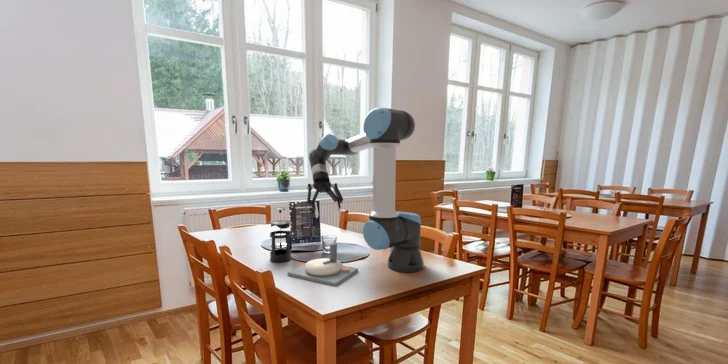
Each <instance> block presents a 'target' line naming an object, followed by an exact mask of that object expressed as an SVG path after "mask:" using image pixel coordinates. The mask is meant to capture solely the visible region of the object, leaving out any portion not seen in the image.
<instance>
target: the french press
mask: <svg viewBox="0 0 728 364" xmlns="http://www.w3.org/2000/svg"><path fill="white" fill-rule="evenodd" d="M275 210H276V211H278V212H279V219H278V220H272V221H270V222H269V224H270V227H271V228H272V227H275V226H276V227H277V228H278V229H279V230H274V231H271V232H269V238H271V245H270V247H271V251H270V252H269V254H270V255H269V256H270V258H269V261H270V262H271V263H277V264H279V263H288V262H289V261H292V250H293V246H292V245H293V242H292V241H293V238H292V237H293V232H292V230H286V229H288V228H290V227H291V222H292V221H291V220H287V219H282V215H281V214H282V211H285V210H286V208H284V207H277V208H275ZM283 229H285V230H283ZM278 234H279V235H278ZM276 239H279V242H276ZM282 239H285V242H282Z"/></svg>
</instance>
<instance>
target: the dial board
mask: <svg viewBox="0 0 728 364" xmlns="http://www.w3.org/2000/svg"><path fill="white" fill-rule="evenodd" d="M306 263H307V262H306ZM306 263H304V264H301V265H299V266H298V267H295V268H293V269H291V270H289V271H287V276H290V277H294V278H298V279H303V280H306V281H312V282H314V283H320V284H325V285H328V286H334V287H337V286H338V285H340V284H341V283H343V282H344V281H346V280H347V279H349V278H350V277H352V276H353V275H355V274H356V273H358V271H359V268H357V267H352V266H346V265H344V264H343V263H341V270H340V271H339V272H338V273H336V274H332V275H326V276H318V275H312V274H309V273H307V272H306Z"/></svg>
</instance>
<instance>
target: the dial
mask: <svg viewBox="0 0 728 364" xmlns="http://www.w3.org/2000/svg"><path fill="white" fill-rule="evenodd" d="M337 254H338V244H337V243H329V258H328V257H327V258H323V257H322V258H315V259H311V260H309V261H307V262H306V272H307V273H309V274H312V275H318V276H326V275H332V274H336V273H338V272H339V271H340V270H341V261H339V260H338V257H337V256H338V255H337Z"/></svg>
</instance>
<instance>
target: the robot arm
mask: <svg viewBox="0 0 728 364" xmlns="http://www.w3.org/2000/svg"><path fill="white" fill-rule="evenodd" d="M415 129H416V121H415V119H414V117H413V116H412V115H411V114H410V113H409V112H408V111H406V110H401V109H400V110H399V109H393V108H388V107H375V108H373V109H371V110H370V111H369V112H368V114H366V116H365V118H364V121H363V133H360V134H357V135H354V136H352V137H350V138H347V139H338V138H337V136H335V135H334V134H332V133H326V134H325V135H324V136H323V137H322V138H321V139H320V141H319V143H318V144H317V146H316V147H314V148H312V149H310V150H309V152H308V160H309V165H310V170H311V176H312V181H313V184H311V183H308V184H307V187H306V188H307V200H306V204H307V205H310V206H311V209H312V211H313V212H314V214H315V219H318V218H319V209H318V202H317V201H316V200H317V198H318V196H319V194H321V193H326V195H328V196H329V197H330V198H331V199H332V200H333V202H334V207H335V212H336V213H335V214H336V218H338V217H340V215H341V211H340V210H341V208H342V207H341V204H342V203H343V201H344V198H343V196H342V194H341V191H340V189H339V187H338V183H331V180H330V176H329V172H328V167H327V161H328V160H329V159H330V157H331V156H354V155H355V156H356V155H358V154H359V153H360V152H363V151H364V150H368V149H372V148H373V165H372V166H373V167H372V169H373V173H372V175H373V177H372V179H373V181H372V183H373V184H372V189H373V191H372V196H373V197H372V210H371V211H370V212H369V214H368V220H367V221H366V222H364V224H363V227H362V234H363V235H362V236H363V239H364V241H365V242H366V244H367V246H368V247H370V248H371V249H372V250H375V251H381V250H387V249H390V250H391V251H390V253H389V256H388V259H387V267H388V268H389V269H390V270H393V271H396V272H402V273H416V272H419V271H422V270H423V269H424V264H425V263H424V259H423V256H422V251H421V228H422V227H421V226H422V223H421V221H422V220H421V216H420V215H419V214H417V213H414V212H406V211H397V210H396V174H397V171H396V170H397V169H396V166H397V165H396V164H397V162H396V161H397V148H398V147H399V146H400V145H401V141H404V140H407V139H408V138H410V137H411V136H412V135H413V134H414V132H415ZM313 189H315V192H314V195H313V197H312V190H313ZM333 191H334V192H333ZM311 197H312V198H311ZM390 247H392V249H391V248H390Z"/></svg>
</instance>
